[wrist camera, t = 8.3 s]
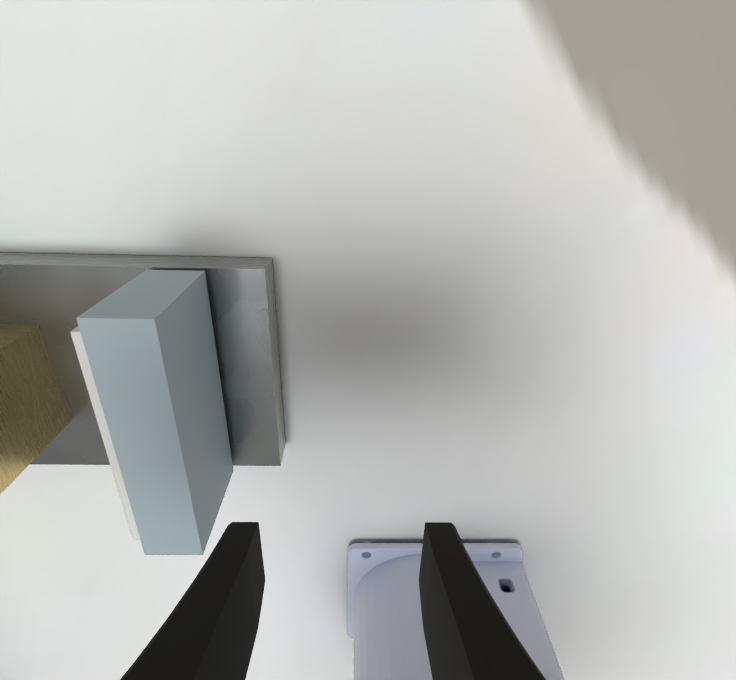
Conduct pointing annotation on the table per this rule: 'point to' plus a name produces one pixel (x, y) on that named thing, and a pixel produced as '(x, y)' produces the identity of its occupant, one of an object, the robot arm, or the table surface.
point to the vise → (230, 325)
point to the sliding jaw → (159, 406)
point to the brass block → (26, 400)
